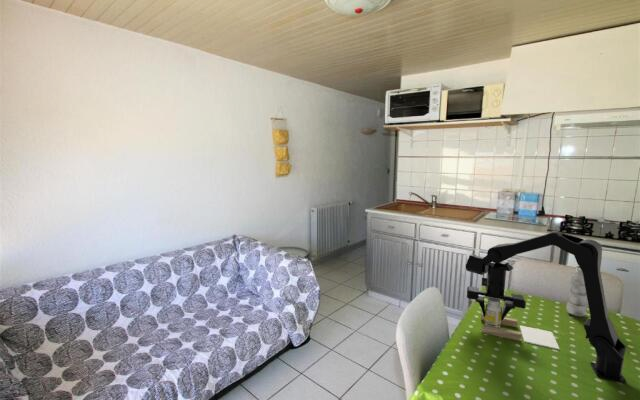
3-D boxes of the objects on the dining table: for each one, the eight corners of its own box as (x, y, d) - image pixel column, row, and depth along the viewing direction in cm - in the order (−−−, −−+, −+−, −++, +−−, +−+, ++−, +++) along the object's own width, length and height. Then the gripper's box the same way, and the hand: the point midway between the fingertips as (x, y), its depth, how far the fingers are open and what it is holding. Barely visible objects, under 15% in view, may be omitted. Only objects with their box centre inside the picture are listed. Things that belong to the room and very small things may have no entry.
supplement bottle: (496, 320, 117) (498, 297, 116) (503, 328, 112) (505, 303, 111) (481, 320, 118) (483, 296, 117) (488, 327, 113) (490, 303, 111)
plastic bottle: (562, 312, 126) (567, 266, 123) (571, 309, 129) (577, 264, 126) (580, 320, 120) (587, 272, 117) (589, 316, 123) (596, 269, 120)
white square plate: (559, 349, 102) (559, 348, 102) (524, 341, 106) (524, 340, 106) (551, 332, 112) (551, 331, 112) (519, 326, 116) (519, 325, 116)
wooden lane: (520, 341, 107) (521, 334, 106) (482, 332, 112) (482, 326, 112) (516, 325, 116) (517, 319, 116) (481, 318, 122) (481, 312, 121)
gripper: (522, 275, 116) (519, 313, 118) (468, 267, 124) (465, 303, 126) (527, 286, 106) (523, 328, 108) (468, 277, 114) (465, 316, 116)
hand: (492, 318), depth 115 cm, fingers closed on supplement bottle, 5 cm apart
